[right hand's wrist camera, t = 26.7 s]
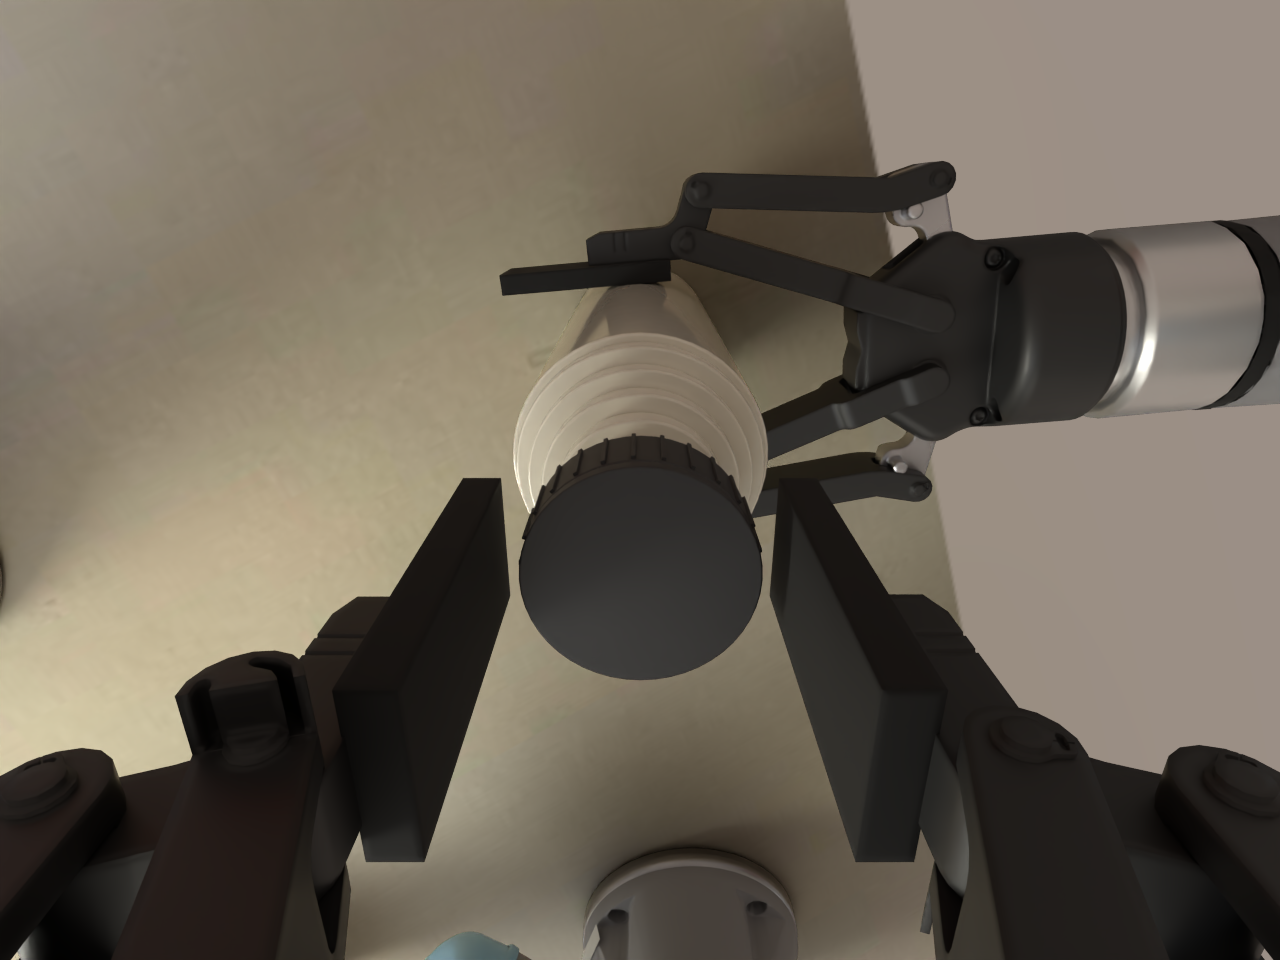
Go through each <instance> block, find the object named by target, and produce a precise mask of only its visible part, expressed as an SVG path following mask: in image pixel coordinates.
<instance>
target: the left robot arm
mask: <svg viewBox="0 0 1280 960" xmlns="http://www.w3.org/2000/svg"><path fill="white" fill-rule="evenodd" d="M955 181H956V172H955V169H954V167H953V166H952V165H951V164H950V163H948V162H945V161H939V162H928V163H920V164H913V165H910V166H907V167H904V168H901V169H899V170H896V171H893V172H890V173H887V174H884V175H881V176H878V177H841V176H805V175H770V174H734V173H698V174H694V175H692V176H690V177H689V178H687V179H686V181H685V182H684V184H683V187H682V192H681V196H680V199H679V203H678V207H677V210H676V213H675V216H674V217H673V218H672V220H671V221H670V222H668V223H667V224H665V225H663V226H659V227H648V228H636V229H626V230H615V231H603V232H599V233H597V234H595V235H593V236H591V237H590V238H588V239H587V240H586V245H587V254H588V262H580V263H569V264H557V265H546V266H535V267H523V268H512V269H510V270H508V271H506V272H505V273H503V274H501V275H500V282H501V289H502V295H503V296H505V295H516V294H528V293H539V292H551V291H562V290H574V289H585V288H597V287H609V286H620V285H631V284H643V283H655V282H666V281H671V267H670V260H679V259H682V260H686V261H689V262H693V263H696V264H700V265H703V266H707V267H710V268H714V269H717V270H721V271H724V272H728V273H731V274H735V275H738V276H742V277H745V278H749V279H752V280H756V281H759V282H763V283H766V284H770V285H773V286H777V287H780V288H784V289H787V290H791V291H794V292H798V293H802V294H805V295H809V296H812V297H816V298H819V299H823V300H826V301H830V302H833V303H836V304H839V305H842V306H844V326H845V330H846V334H847V338H848V344H847V348H846V351H845V354H844V358H843V374H842V375H840V376H838V377H835V378H833V379H831V380H829V381H827V382H825V383H823V384H822V385H821V387H820V388H818V389H817V390H815V391H812V392H810V393H808V394H806V395H803V396H801V397H799V398H796V399H794V400H792V401H789V402H787V403H785V404H782V405H780V406H778V407H776V408H773V409H771V410H769V411H766V412H764V413H762V418H763V421H764V425H765V428H766V434H767V442H768V460H770V459H772V458H775V457H777V456H779V455H782V454H784V453H787V452H789V451H791V450H794V449H796V448H798V447H801V446H803V445H806V444H808V443H810V442H813V441H815V440H817V439H820V438H822V437H825V436H827V435H829V434H832V433H834V432H836V431H839V430H842V429H855V428H858V427H860V426H863V425H865V424H868V423H870V422H872V421H875V420H877V419H879V418H882V417H885V418H887V419H888V420H890V421H892V422H893V423H895V424H896V425H898V426H900V427H901V428H903V429H904V430H906V434H905V435H904V436H903V438H901V439H900V440H898V441H896V442H889V443H885V444H881V445H880V446H878V448H877V451H876V453H873V452H856V453H848V454H843V455H837V456H832V457H826V458H821V459H815V460H810V461H804V462H799V463H793V464H788V465H782V466H777V467H771V468H767V470H766V476H765V480H764V483H763V487H762V490H761V493H760V495H759V498H758V501H757V503H756V505H755V507H754V510H753V512H752V514H751V515H752V518H756V517H762V516H767V515H773V514H776V511H777V498H778V486H779V478H817V479H818V481H819V483H820V484H821V486H822V487H823V489H824V491H825V492H826V494H827V495H828V497H829V499H830V500H831V502H832V504H835V503H841V502H846V501H852V500H858V499H863V498H869V497H875V496H879V497H886V498H893V499H899V500H906V501H913V502H917V501H922V500H924V499H926V498H927V497H928V496H929V495H930V493H931V491H932V484H931V481H930V480H929V479H928V478H927V477H926V476H925V473H926V470H927V467H928V464H929V461H930V458H931V455H932V452H933V449H934V445H935V442H936V441H938V440H942V439H944V438H947V437H948V436H950V435H952V434H954V433H955V432H957V431H960V430H962V429H965V428H968V427H975V426H1001V425H1013V424H1026V423H1038V422H1051V421H1064V420H1072V419H1076V418H1078V417H1081V416H1083V415H1084V416H1086V417H1092V418H1107V417H1117V416H1128V415H1139V414H1149V413H1160V412H1170V411H1181V410H1201V409H1211V408H1219V407H1235V406H1250V405H1266V404H1280V215H1279V216H1269V217H1260V218H1250V219H1240V220H1230V221H1222V220H1218V221H1205V222H1192V223H1180V224H1168V225H1155V226H1143V227H1130V228H1118V229H1107V230H1098V231H1094V232H1092V233H1090V234H1088V235H1085V234H1083V233H1078V232H1067V233H1056V234H1045V235H1033V236H1022V237H1011V238H999V239H988V240H974V239H971V238H969V237H967V236H965V235H963V234H961V233H959V232H954V231H953V230H952V224H951V218H950V212H949V206H948V199H947V193H948V192H949V191H950V190H951V189H952V188H953V186H954V183H955ZM712 208H718V209H755V210H791V211H827V212H863V213H880V212H885V214H886V217H887V220H888V221H889V222H890V223H891V224H893V225H896V226H902V227H912V228H914V229H915V231H916V232H917V234H918V237H919V238H918V239H917V240H915V241H914V242H913V243H912V244H910V245H909V246H908V247H907V248H905V249H904V250H903V251H902V252H900V253H899V254H898V255H897V256H895V257H894V258H893V259H892V260H891V261H889V262H888V263H887V264H886V265H884V266H883V267H882V268H881V269H879V270H878V271H877V272H876V273H874V274H873V275H872V276H871V277H868V276H864V275H861V274H857V273H854V272H850V271H847V270H843V269H840V268H837V267H833V266H829V265H825V264H822V263H818V262H815V261H812V260H808V259H805V258H801V257H798V256H794V255H791V254H787V253H784V252H781V251H777V250H774V249H770V248H767V247H763V246H760V245H756V244H753V243H750V242H746V241H743V240H739V239H736V238H732V237H729V236H725V235H722V234H719V233H715V232H712V231H708V230H706V228H707V224H708V221H709V218H710V214H711V211H712ZM583 948H584V952H583V954H582V959H583V960H797V955H798V935H797V927H796V922H795V917H794V913H793V908H792V904H791V901H790V899H789V896H788V894H787V893H786V891H785V889H784V888H783V886H782V885H781V884H780V883H779V882H778V880H777V879H776V878H775V877H774V876H772V875H771V874H770V873H769V872H768V871H766V870H765V869H764V868H762V867H761V866H759V865H757V864H755V863H754V862H752V861H749V860H747V859H745V858H743V857H740V856H737V855H734V854H731V853H727V852H723V851H718V850H711V849H700V848H682V849H672V850H666V851H660V852H656V853H652V854H649V855H646V856H643V857H640V858H638V859H635V860H633V861H631V862H629V863H627V864H625V865H623V866H622V867H620V868H619V869H617V870H615V871H614V872H613V873H612V874H610V875H609V876H608V877H607V878H606V879H605V880H604V881H603V882H601V884H600V885H599V886H598V887H597V888H596V890H595V891H594V893H593V894H592V896H591V898H590V900H589V902H588V905H587V908H586V912H585V918H584V932H583ZM425 960H531V959H529V958H528V957H526V956H524V955H523V954H521V953H519V948H518V947H516V946H515V945H513V944H510V945H508V946H507V945H505V944H502V943H500V942H498V941H496V940H494V939H492V938H490V937H488V936H485V935H483V934H481V933H477V932H464V933H460V934H457V935H455V936H453V937H451V938H449V939H448V940H446V941H445V942H443V943H442V944H440V945H439V946H438V947H437V948H436V949H435V950H434V951H433V952H432V953H431V954H430V955H429V956H428V957H427V958H426V959H425Z"/></svg>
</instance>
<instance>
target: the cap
mask: <svg viewBox="0 0 1280 960" xmlns="http://www.w3.org/2000/svg"><path fill="white" fill-rule="evenodd" d="M754 527H755V523H754V521H753V518H752V515H751V512H750V509H749V506H748V503H747V500H746V498H745V496H744V497H741V494H740V492H739V490H738V488H737V486H736V483H735V480H734V477H733V476H732V475H729V476H728V475H727V473H726V472H725V471H724V470H723V469H722V468H721V467H720V466H719V465H718V464H717V463H716V461H715V458H714V457H713V456H711V457H710V458H709V457H708V456H706V455H705V454H703V453H702V452H700V451H698V450H696V449H694V448H692V445H691V444H690V443H687V445H686V444H683V443H680V442H677V441H674V440H671V439H666V438H665V437H664V435H660V437H655V436H636V433H632V436H626V437H621V438H615V439H610V440H608V438H605V439H604V440H603V442H601V443H598V444H596V445H593V446H591V447H589V448H587V449H585V450H582V448H581V449H579V450H578V453H577V455H575V456H574V457H572V458H571V459H570V460H568V461H567V462H566V463H565V464H564V465H562V466H561V465H560V464H559V465H558V466H557V468H556V472H555V474H554V475H553V476H552V477H551V479H550V480H549V482H548V483H547V485H546V486H545V485H542V487H541V489H540V492H539V495H538V498H537V501H536V504H535V507H534V508H532V510H531V513H530V516H529V519H528V522H527V525H526V527H525V530H524V533H523V536H522V539H524V540H525V541H524V544H523V548H522V551H521V556H520V559H519V583H520V590H521V595H522V598H523V602H524V605H525V608H526V610H527V612H528V614H529V616H530V618H531V620H532V622H533V623H534V625H535V627H536V628H537V630H538V631H539V633H540V634H541V635H542V636H543V637H544V638H545V640H546V641H547V642H548V643H549V644H550V645H551V646H552V647H553V648H555V649H556V650H557V651H558V652H559V653H561V654H562V655H563V656H565V657H566V658H568V659H569V660H570V661H572V662H574V663H576V664H578V665H580V666H581V667H583V668H586V669H588V670H591V671H593V672H596V673H599V674H602V675H606V676H610V677H615V678H621V679H629V680H652V679H661V678H667V677H672V676H675V675H679V674H683V673H686V672H688V671H691V670H693V669H696V668H698V667H700V666H702V665H704V664H706V663H707V662H709V661H711V660H712V659H714V658H715V657H717V656H718V655H720V654H721V653H722V652H724V651H725V650H726V649H727V648H728V647H729V646H730V645H731V644H732V643H733V642H734V641H735V640H736V639H737V638H738V637H739V635H740V634H741V633H742V632H743V630H744V629H745V627H746V626H747V624H748V623H749V621H750V619H751V617H752V615H753V613H754V611H755V609H756V606H757V603H758V600H759V597H760V593H761V586H762V559H761V553H760V552H762V548H761V545H760V542H759V539H758V537H757V534H756V531H755V528H754Z"/></svg>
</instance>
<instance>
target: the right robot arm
mask: <svg viewBox="0 0 1280 960" xmlns="http://www.w3.org/2000/svg"><path fill="white" fill-rule="evenodd" d="M1 593H2V573H1V567H0V599H1ZM509 598H510V587H509V574H508V562H507V549H506V536H505V524H504V511H503V498H502V486H501V478H463V479H462V481H461V483H460V484H459V486H458V487H457V489H456V491H455V492H454V494H453V495H452V497H451V499H450V500H449V502H448V504H447V505H446V507H445V508H444V510H443V512H442V513H441V515H440V516H439V518H438V520H437V521H436V523H435V524H434V526H433V528H432V529H431V531H430V533H429V534H428V536H427V537H426V539H425V541H424V542H423V544H422V545H421V547H420V549H419V550H418V552H417V554H416V555H415V557H414V558H413V560H412V562H411V563H410V565H409V566H408V568H407V570H406V571H405V573H404V574H403V576H402V578H401V579H400V581H399V583H398V584H397V586H396V587H395V589H394V591H393V592H392V594H391V595H390V597H356V598H355V599H354V600H352V601H351V602H349V603H348V604H346V605H345V606H343V607H342V608H340V609H339V610H337V611H336V612H335V613H333V614H332V615H331V617H330V618H329V619H328V621H327V622H326V623H325V625H324V626H323V627H322V629H321V630H320V632H319V633H318V637H317V638H314V640H313V641H312V643H311V644H310V645H309V647H308V648H307V649H306V651H305V655H302V656H301V658H300V659H298V658H296V657H295V656H294V655H293V654H288V653H284V652H279V651H259V652H250V653H246V654H242V655H238V656H234V657H230V658H227V659H225V660H223V661H221V662H218V663H216V664H214V665H211V666H209V667H207V668H205V669H204V670H202V671H201V672H199V673H198V674H197V675H195V676H194V677H192V678H191V679H189V680H188V681H187V682H186V683H185V684H184V685H183V687H182V688H181V689H180V690H179V692H178V693H177V694H176V696H175V699H176V702H177V705H178V708H179V712H180V715H181V718H182V722H183V725H184V728H185V732H186V735H187V738H188V742H189V745H190V748H191V752H192V758H191V760H190V761H187V762H184V763H180V764H177V765H173V766H168V767H164V768H159V769H155V770H150V771H146V772H141V773H137V774H132V775H128V776H123V777H119V776H118V773H117V771H116V768H115V765H114V762H113V759H112V758H110V757H109V756H108V755H106V754H105V753H104V752H103V751H101V750H93V749H85V748H79V749H72V750H66V751H59V752H54V753H52V754H49V755H45V756H43V757H39V758H36V759H33V760H31V761H28V762H26V763H24V764H22V765H20V766H19V767H17V768H15V769H13V770H11V771H9V772H7V773H5V774H3V775H2V776H0V960H11V959H12V957H13V956H14V955H15V954H16V952H18V954H19V956H20V959H19V960H344V957H345V947H346V936H347V925H348V915H349V904H350V893H351V888H350V881H349V875H348V870H347V866H346V861H347V859H348V856H349V854H350V852H351V850H352V847H353V845H354V843H355V840H356V838H357V836H358V834H359V831H360V835H361V840H362V845H363V850H364V855H365V860H366V862H425V858H426V855H427V852H428V849H429V846H430V843H431V840H432V837H433V834H434V831H435V827H436V824H437V821H438V818H439V815H440V812H441V809H442V806H443V803H444V800H445V796H446V793H447V790H448V787H449V784H450V781H451V778H452V775H453V772H454V769H455V765H456V762H457V759H458V756H459V753H460V750H461V747H462V744H463V741H464V737H465V734H466V731H467V728H468V725H469V722H470V719H471V716H472V713H473V710H474V706H475V703H476V700H477V697H478V694H479V691H480V688H481V685H482V682H483V679H484V675H485V672H486V669H487V666H488V663H489V660H490V657H491V654H492V651H493V648H494V644H495V641H496V638H497V635H498V632H499V629H500V626H501V623H502V620H503V616H504V613H505V610H506V607H507V604H508V601H509ZM770 598H771V601H772V604H773V607H774V610H775V613H776V617H777V620H778V623H779V626H780V629H781V632H782V635H783V638H784V641H785V644H786V648H787V651H788V654H789V657H790V660H791V663H792V666H793V669H794V672H795V675H796V679H797V682H798V685H799V688H800V691H801V694H802V697H803V700H804V703H805V706H806V710H807V713H808V716H809V719H810V722H811V725H812V728H813V731H814V734H815V738H816V741H817V744H818V747H819V750H820V753H821V756H822V759H823V762H824V765H825V769H826V772H827V775H828V778H829V781H830V784H831V787H832V790H833V793H834V796H835V800H836V803H837V806H838V809H839V812H840V815H841V818H842V821H843V824H844V827H845V831H846V834H847V837H848V840H849V843H850V846H851V849H852V852H853V855H854V858H855V862H914V860H915V855H916V850H917V845H918V840H919V835H920V830H922V832H923V835H924V837H925V839H926V841H927V844H928V846H929V848H930V850H931V853H932V855H933V857H934V860H935V861H934V866H933V870H932V875H931V880H930V884H929V889H928V894H927V898H926V903H925V908H924V912H923V917H922V923H921V930H920V932H922V933H926V934H930V930H931V925H932V923H933V934H934V944H935V955H936V960H1264V958H1263V957H1262V956H1261V954H1262V952H1263V950H1264V948H1265V950H1266V951H1267V952H1268V953H1269V955H1270V956H1271V957H1272V959H1273V960H1280V772H1278V771H1276V770H1274V769H1272V768H1270V767H1268V766H1267V765H1265V764H1263V763H1261V762H1259V761H1257V760H1255V759H1253V758H1251V757H1248V756H1245V755H1243V754H1238V753H1236V752H1233V751H1230V750H1227V749H1222V748H1216V747H1209V746H1202V745H1196V746H1188V747H1180V748H1178V749H1177V750H1176V751H1175V752H1173V753H1172V754H1171V755H1169V757H1168V759H1167V762H1166V765H1165V768H1164V771H1163V773H1162V775H1161V774H1157V773H1152V772H1148V771H1143V770H1139V769H1134V768H1129V767H1125V766H1121V765H1116V764H1112V763H1107V762H1103V761H1100V760H1096V759H1093V758H1090V757H1089V756H1088V754H1087V753H1086V751H1085V750H1084V748H1083V747H1082V745H1081V744H1080V742H1079V741H1078V739H1077V738H1076V737H1075V736H1073V735H1072V734H1071V733H1070V732H1068V731H1067V730H1066V729H1065V728H1063V727H1062V726H1061V725H1060V724H1058V723H1056V722H1054V721H1052V720H1050V719H1048V718H1046V717H1044V716H1042V715H1040V714H1038V713H1036V712H1032V711H1029V710H1025V709H1022V708H1019V707H1018V706H1017V705H1016V703H1015V702H1014V701H1013V699H1012V698H1011V697H1010V695H1009V694H1008V693H1007V691H1006V690H1005V688H1004V687H1003V686H1002V684H1001V683H1000V682H999V680H998V679H997V678H996V676H995V675H994V674H993V672H992V671H991V669H990V668H989V667H988V665H987V664H986V663H985V661H984V660H983V659H982V657H981V656H980V654H979V653H976V652H975V648H974V646H973V645H972V644H971V642H970V641H969V640H968V638H967V637H966V636H963V631H962V630H961V629H960V627H959V626H958V625H957V623H956V622H955V620H954V619H953V618H952V616H951V615H950V614H949V612H948V611H946V610H945V609H943V608H942V607H940V606H939V605H937V604H936V603H934V602H933V601H932V600H930V599H929V598H927V597H926V596H924V595H889V594H888V592H887V591H886V589H885V587H884V586H883V584H882V583H881V581H880V579H879V578H878V576H877V575H876V573H875V571H874V570H873V568H872V566H871V565H870V563H869V562H868V560H867V558H866V557H865V555H864V554H863V552H862V550H861V549H860V547H859V545H858V544H857V542H856V541H855V539H854V537H853V536H852V534H851V533H850V531H849V529H848V528H847V526H846V525H845V523H844V521H843V520H842V518H841V516H840V515H839V513H838V512H837V510H836V508H835V507H834V505H833V504H832V502H831V500H830V499H829V497H828V495H827V494H826V492H825V491H824V489H823V487H822V486H821V484H820V483H819V481H818V479H817V478H779V486H778V498H777V511H776V524H775V536H774V549H773V562H772V574H771V587H770Z"/></svg>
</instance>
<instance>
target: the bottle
mask: <svg viewBox="0 0 1280 960" xmlns="http://www.w3.org/2000/svg"><path fill="white" fill-rule="evenodd" d="M632 433H636V436H655V437H660V435H664V437H665V438H666V439H671V440H674V441H677V442H680V443H683V444H686V445H687V443H690V444H691V445H692V448H694V449H696V450H698V451H700V452H702V453H703V454H705V455H706V456H708V457H709V458H710V457H711V456H713V457H714V458H715V461H716V463H717V464H718V465H719V466H720V467H721V468H722V469H723V470H724V471H725V472H726V473H727V475H728V476H729V475H732V476H733V477H734V480H735V483H736V486H737V488H738V490H739V492H740V494H741V497H744V496H745V498H746V500H747V503H748V506H749V509H750V512H751V514H752V512H753V510H754V507H755V505H756V503H757V501H758V498H759V495H760V493H761V490H762V487H763V483H764V480H765V476H766V470H767V463H768V442H767V434H766V428H765V425H764V421H763V418H762V414H761V412H760V409H759V407H758V405H757V403H756V400H755V398H754V396H753V395H752V393H751V391H750V389H749V387H748V386H747V384H746V382H745V380H744V379H743V377H742V375H741V373H740V371H739V370H738V368H737V366H736V364H735V362H734V361H733V359H732V357H731V355H730V353H729V352H728V350H727V348H726V346H725V344H724V343H723V341H722V339H721V337H720V336H719V334H718V332H717V330H716V328H715V327H714V325H713V323H712V321H711V319H710V318H709V316H708V314H707V312H706V310H705V309H704V307H703V305H702V303H701V301H700V300H699V298H698V296H697V295H696V293H695V292H694V291H693V289H692V288H691V287H690V286H689V285H688V284H687V283H686V282H685V281H684V280H683V279H682V278H680V277H679V276H677V275H676V274H674V273H672V272H671V281H666V282H655V283H643V284H631V285H620V286H609V287H597V288H589V289H588V290H587V291H586V293H585V294H584V296H583V297H582V299H581V301H580V302H579V304H578V306H577V308H576V310H575V312H574V313H573V315H572V317H571V319H570V321H569V322H568V324H567V326H566V328H565V330H564V331H563V333H562V335H561V337H560V339H559V340H558V342H557V344H556V346H555V348H554V350H553V351H552V353H551V355H550V357H549V359H548V360H547V362H546V364H545V366H544V368H543V369H542V371H541V373H540V375H539V377H538V378H537V380H536V382H535V384H534V386H533V388H532V389H531V391H530V393H529V395H528V397H527V398H526V401H525V403H524V405H523V407H522V410H521V412H520V414H519V418H518V421H517V425H516V428H515V435H514V442H513V463H514V470H515V476H516V480H517V483H518V487H519V490H520V493H521V495H522V498H523V501H524V503H525V505H526V507H527V510H528V512H529V514H530V513H531V510H532V508H534V507H535V504H536V501H537V498H538V495H539V492H540V489H541V487H542V485H545V486H546V485H547V483H548V482H549V480H550V479H551V477H552V476H553V475H554V474H555V472H556V468H557V466H558V465H559V464H560V465H561V466H562V465H564V464H565V463H566V462H567V461H568V460H570V459H571V458H572V457H574V456H575V455H577V453H578V450H579V449H581V448H582V450H585V449H587V448H589V447H591V446H593V445H596V444H598V443H601V442H603V440H604V439H605V438H608V440H610V439H615V438H621V437H626V436H632Z"/></svg>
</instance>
